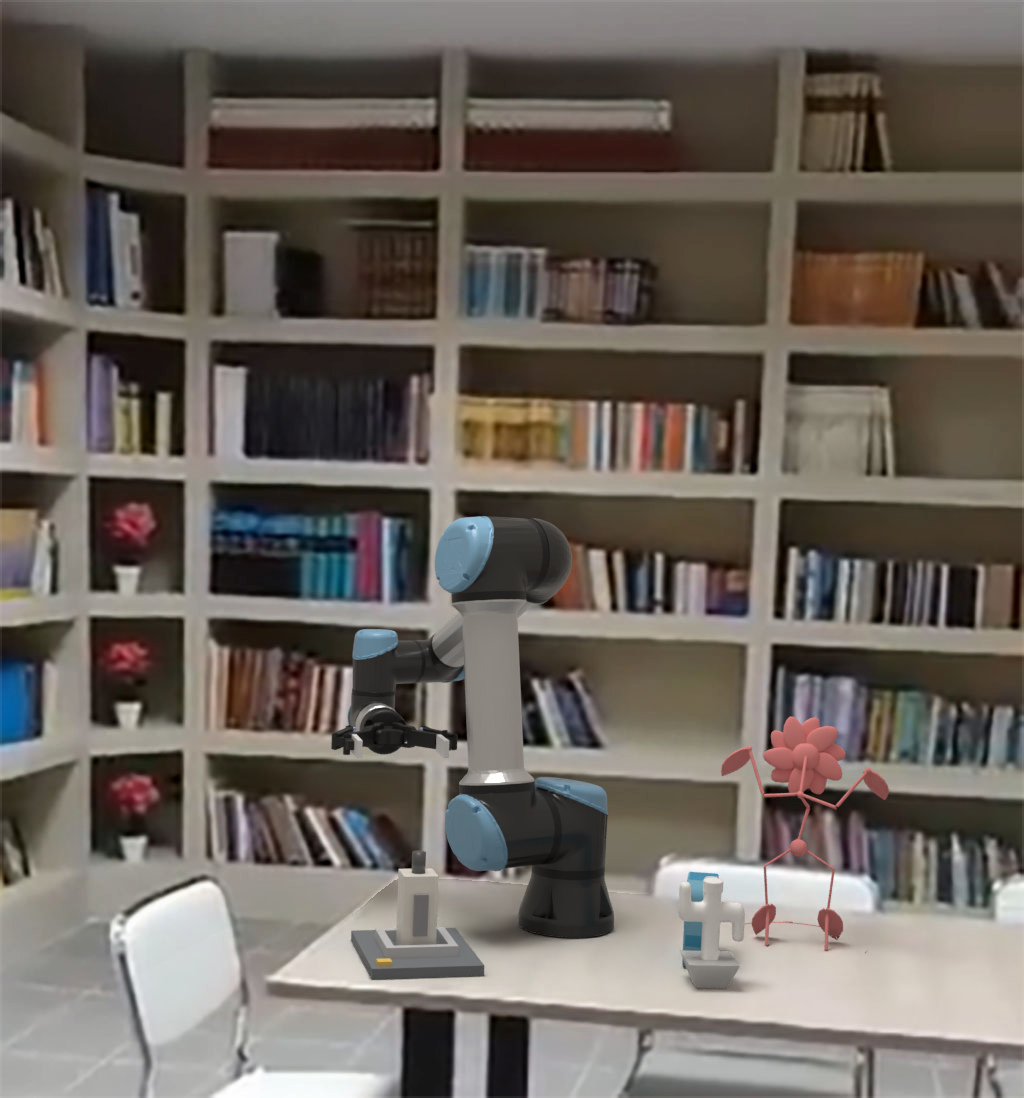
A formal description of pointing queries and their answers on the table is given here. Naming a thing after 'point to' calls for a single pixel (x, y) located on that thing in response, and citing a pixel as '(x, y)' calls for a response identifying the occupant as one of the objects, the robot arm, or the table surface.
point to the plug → (417, 903)
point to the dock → (416, 955)
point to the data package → (694, 929)
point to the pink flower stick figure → (803, 764)
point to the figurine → (711, 934)
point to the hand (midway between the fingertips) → (403, 749)
